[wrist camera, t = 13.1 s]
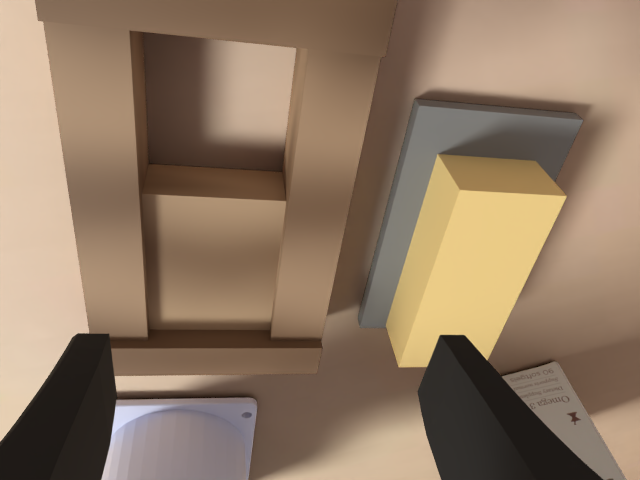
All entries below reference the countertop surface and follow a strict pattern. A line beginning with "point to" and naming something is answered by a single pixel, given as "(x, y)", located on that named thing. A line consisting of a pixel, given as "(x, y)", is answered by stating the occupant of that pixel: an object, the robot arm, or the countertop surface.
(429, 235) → the bar
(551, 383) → the supplement box
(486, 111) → the mat
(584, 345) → the countertop surface
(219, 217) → the pocket board
